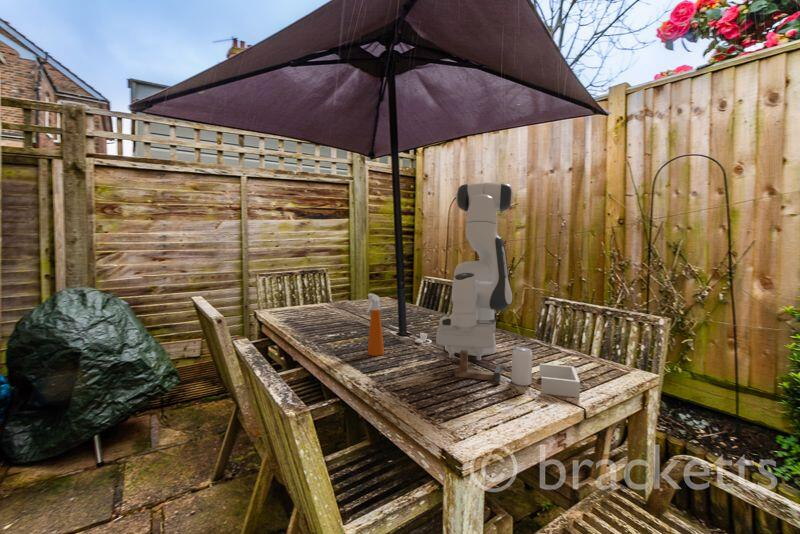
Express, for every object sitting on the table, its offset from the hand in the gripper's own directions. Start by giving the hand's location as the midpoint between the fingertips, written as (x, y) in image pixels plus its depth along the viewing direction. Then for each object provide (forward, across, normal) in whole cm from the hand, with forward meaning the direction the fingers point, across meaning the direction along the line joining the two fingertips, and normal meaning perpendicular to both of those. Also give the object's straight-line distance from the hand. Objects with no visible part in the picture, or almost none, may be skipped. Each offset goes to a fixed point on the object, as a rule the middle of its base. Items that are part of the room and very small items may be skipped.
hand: (465, 358), depth 130 cm
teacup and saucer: (+5, +28, -39) cm, 48 cm away
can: (+7, -19, -1) cm, 20 cm away
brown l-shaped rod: (+7, -3, -1) cm, 8 cm away
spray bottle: (+5, +40, -14) cm, 43 cm away
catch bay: (+7, -30, 0) cm, 31 cm away
